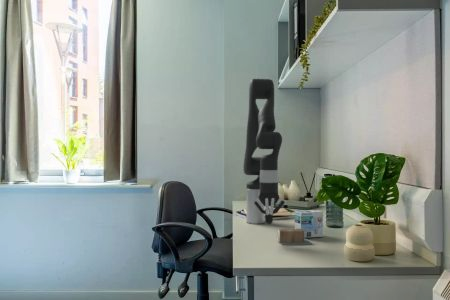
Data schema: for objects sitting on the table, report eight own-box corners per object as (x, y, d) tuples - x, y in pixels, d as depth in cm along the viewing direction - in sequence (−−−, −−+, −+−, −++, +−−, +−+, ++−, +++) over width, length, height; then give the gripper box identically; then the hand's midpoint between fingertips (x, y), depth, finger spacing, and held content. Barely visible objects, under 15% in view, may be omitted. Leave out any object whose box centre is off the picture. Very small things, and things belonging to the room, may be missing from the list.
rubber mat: (277, 239, 169) (277, 238, 169) (305, 238, 169) (305, 237, 169) (282, 244, 159) (282, 244, 159) (312, 244, 159) (312, 243, 159)
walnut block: (277, 229, 166) (301, 228, 166) (277, 239, 166) (301, 239, 166) (279, 231, 161) (303, 231, 162) (279, 242, 161) (303, 242, 162)
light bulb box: (301, 238, 169) (300, 212, 169) (294, 235, 175) (293, 210, 176) (324, 236, 171) (323, 211, 172) (316, 234, 178) (316, 209, 178)
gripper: (283, 180, 167) (282, 221, 167) (251, 180, 166) (251, 222, 167) (287, 181, 160) (287, 225, 160) (254, 182, 159) (254, 225, 159)
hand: (268, 223), depth 163 cm, fingers closed
